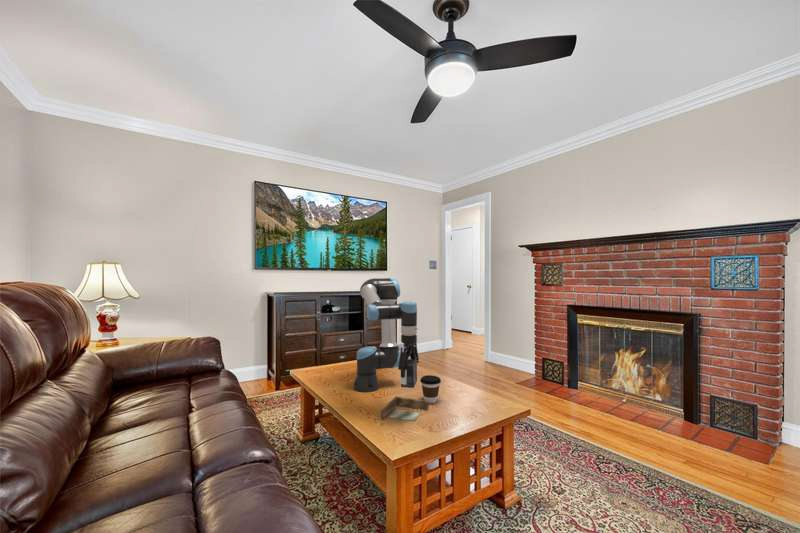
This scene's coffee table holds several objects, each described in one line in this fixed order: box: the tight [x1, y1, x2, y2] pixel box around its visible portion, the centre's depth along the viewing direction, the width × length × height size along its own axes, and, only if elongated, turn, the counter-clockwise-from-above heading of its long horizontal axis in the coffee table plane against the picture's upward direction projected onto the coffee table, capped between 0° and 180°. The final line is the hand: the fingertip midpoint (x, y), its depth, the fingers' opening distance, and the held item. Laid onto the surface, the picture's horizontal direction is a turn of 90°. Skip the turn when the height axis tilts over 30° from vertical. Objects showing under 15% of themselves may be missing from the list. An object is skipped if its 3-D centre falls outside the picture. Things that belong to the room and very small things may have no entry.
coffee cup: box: [420, 375, 442, 404], centre depth 174 cm, size 11×11×12 cm
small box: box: [400, 358, 418, 389], centre depth 157 cm, size 11×6×10 cm, turn 169°
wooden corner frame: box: [380, 396, 430, 422], centre depth 158 cm, size 18×18×4 cm
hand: (408, 380), depth 157 cm, fingers closed on small box, 11 cm apart
